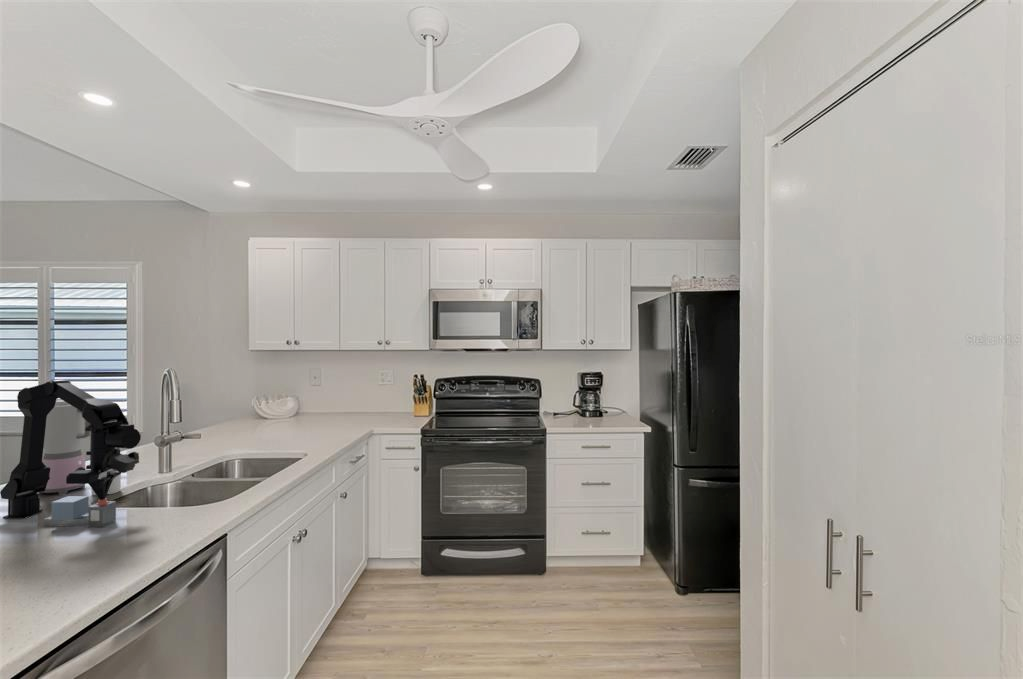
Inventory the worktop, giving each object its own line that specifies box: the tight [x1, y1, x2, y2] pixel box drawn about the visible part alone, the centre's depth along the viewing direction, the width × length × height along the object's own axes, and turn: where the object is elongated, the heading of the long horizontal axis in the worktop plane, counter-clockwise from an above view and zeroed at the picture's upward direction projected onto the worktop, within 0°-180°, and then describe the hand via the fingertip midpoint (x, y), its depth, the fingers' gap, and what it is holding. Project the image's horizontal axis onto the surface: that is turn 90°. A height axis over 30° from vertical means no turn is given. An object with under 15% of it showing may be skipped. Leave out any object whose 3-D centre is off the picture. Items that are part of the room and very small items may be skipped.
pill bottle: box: [90, 471, 122, 496], centre depth 173 cm, size 8×8×15 cm
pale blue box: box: [50, 495, 90, 520], centre depth 144 cm, size 6×5×5 cm
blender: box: [39, 399, 91, 496], centre depth 174 cm, size 16×12×32 cm
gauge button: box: [97, 498, 108, 505], centre depth 144 cm, size 2×2×5 cm
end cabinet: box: [87, 500, 117, 529], centre depth 144 cm, size 4×5×6 cm
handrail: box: [43, 515, 88, 527], centre depth 144 cm, size 13×2×2 cm, turn 93°
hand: (102, 499), depth 144 cm, fingers closed, pressing on gauge button
